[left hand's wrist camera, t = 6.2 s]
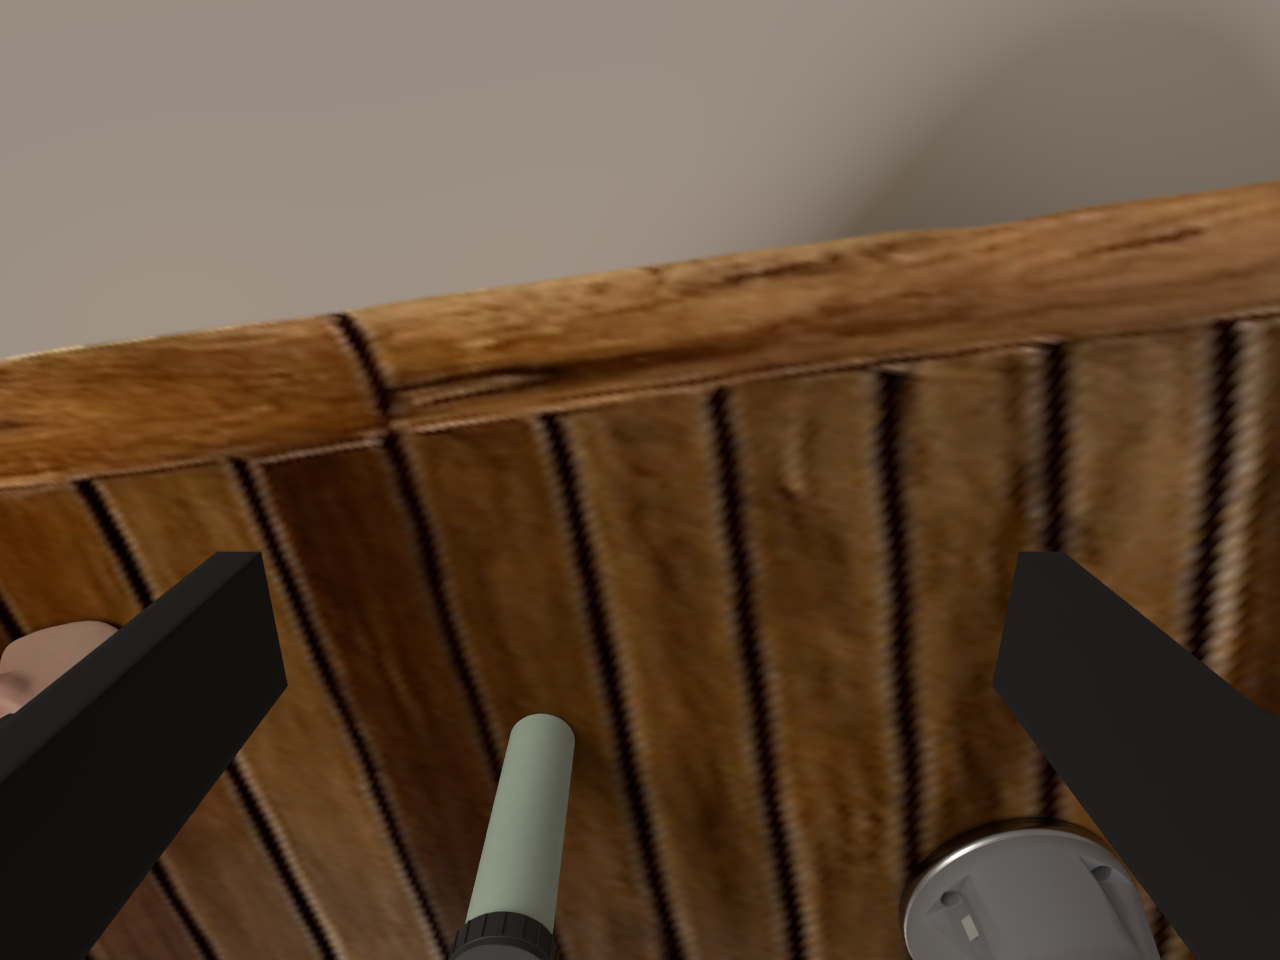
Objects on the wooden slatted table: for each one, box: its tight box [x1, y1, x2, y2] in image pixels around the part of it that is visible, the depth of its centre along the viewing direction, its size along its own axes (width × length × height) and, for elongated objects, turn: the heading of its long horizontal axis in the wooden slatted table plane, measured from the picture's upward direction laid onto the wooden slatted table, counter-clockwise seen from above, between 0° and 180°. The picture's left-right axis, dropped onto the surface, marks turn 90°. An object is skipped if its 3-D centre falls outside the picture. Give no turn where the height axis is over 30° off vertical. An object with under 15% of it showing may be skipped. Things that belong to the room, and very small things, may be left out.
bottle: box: [465, 714, 575, 934], centre depth 38 cm, size 4×4×15 cm
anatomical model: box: [0, 621, 118, 718], centre depth 42 cm, size 13×4×12 cm
